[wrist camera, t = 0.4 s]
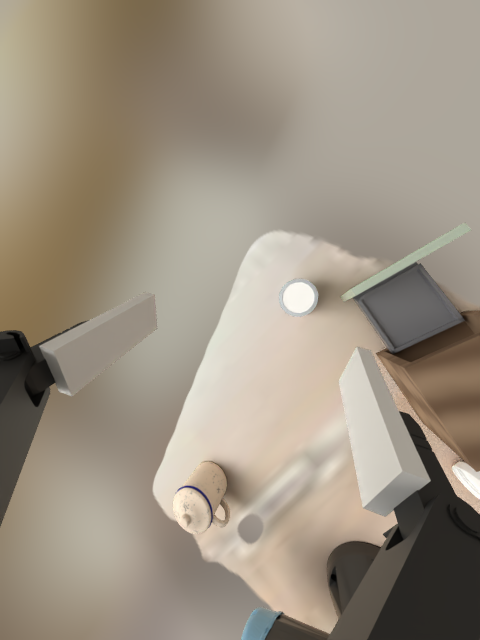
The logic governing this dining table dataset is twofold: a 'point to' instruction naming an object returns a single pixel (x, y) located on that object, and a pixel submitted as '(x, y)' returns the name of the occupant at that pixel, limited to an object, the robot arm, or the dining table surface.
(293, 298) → the shot glass
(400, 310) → the pale green angular block
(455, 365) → the box
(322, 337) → the dining table surface
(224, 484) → the teacup with lid
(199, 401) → the dining table surface
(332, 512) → the dining table surface
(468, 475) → the spread jar
